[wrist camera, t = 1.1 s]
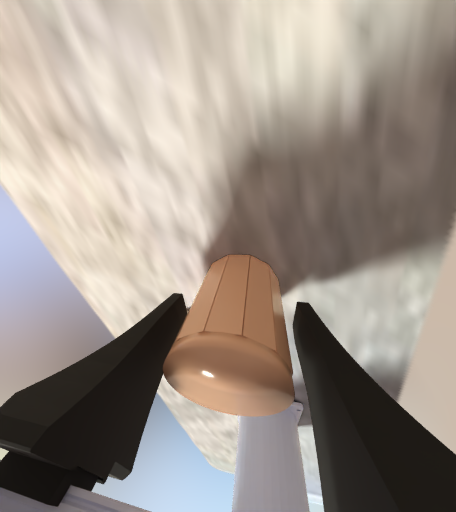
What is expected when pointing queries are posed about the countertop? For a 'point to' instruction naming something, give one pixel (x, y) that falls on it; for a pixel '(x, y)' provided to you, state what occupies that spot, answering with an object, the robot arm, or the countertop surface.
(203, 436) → the countertop surface
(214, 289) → the cup
